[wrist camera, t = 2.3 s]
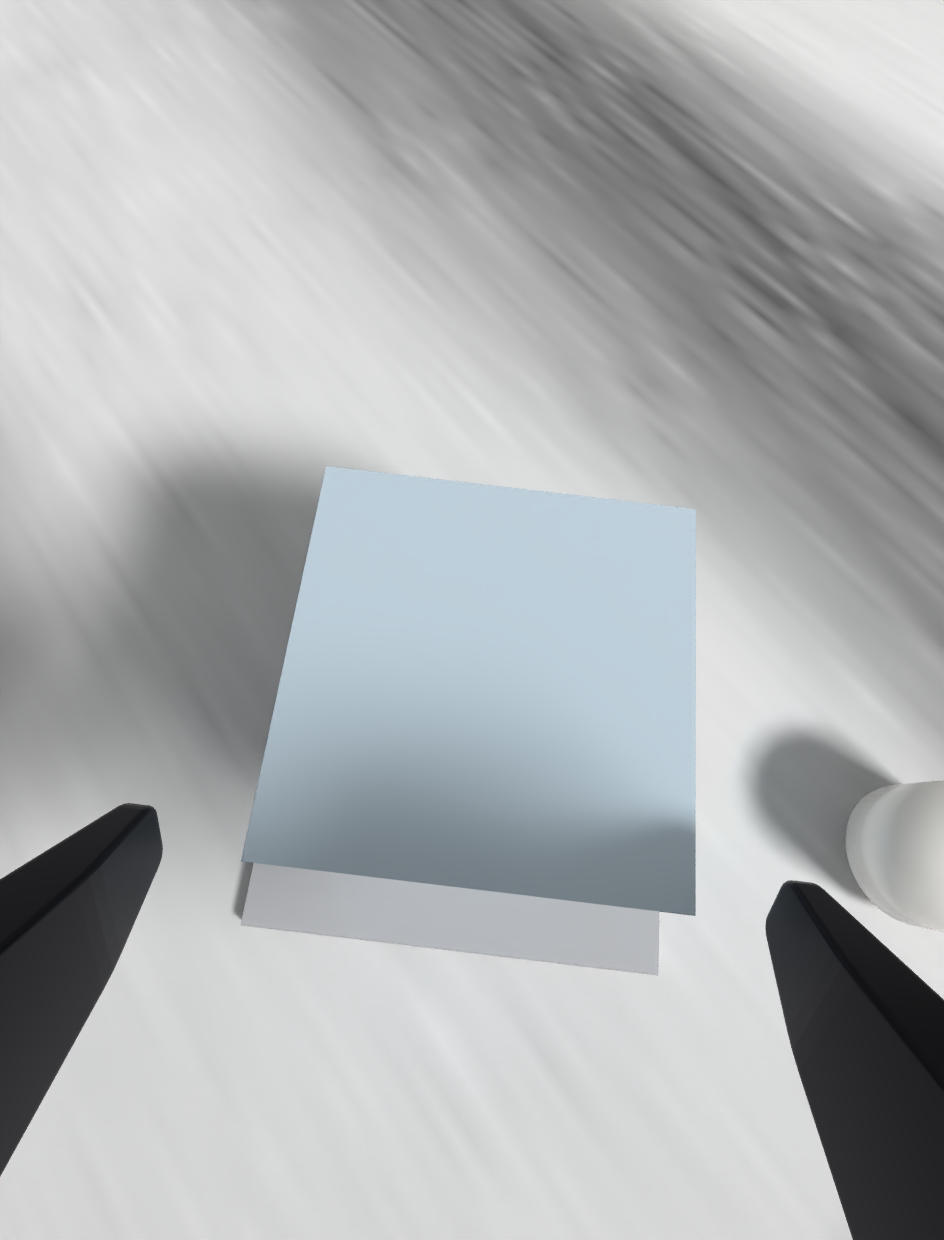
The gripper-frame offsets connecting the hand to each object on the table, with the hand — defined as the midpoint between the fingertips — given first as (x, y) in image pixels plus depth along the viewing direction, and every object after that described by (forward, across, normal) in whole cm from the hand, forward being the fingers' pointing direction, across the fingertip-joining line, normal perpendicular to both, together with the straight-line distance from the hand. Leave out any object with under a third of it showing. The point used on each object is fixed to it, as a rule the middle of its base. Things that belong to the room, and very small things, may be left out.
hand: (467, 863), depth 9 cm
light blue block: (+9, 0, +5) cm, 11 cm away
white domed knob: (+8, -14, +7) cm, 17 cm away
